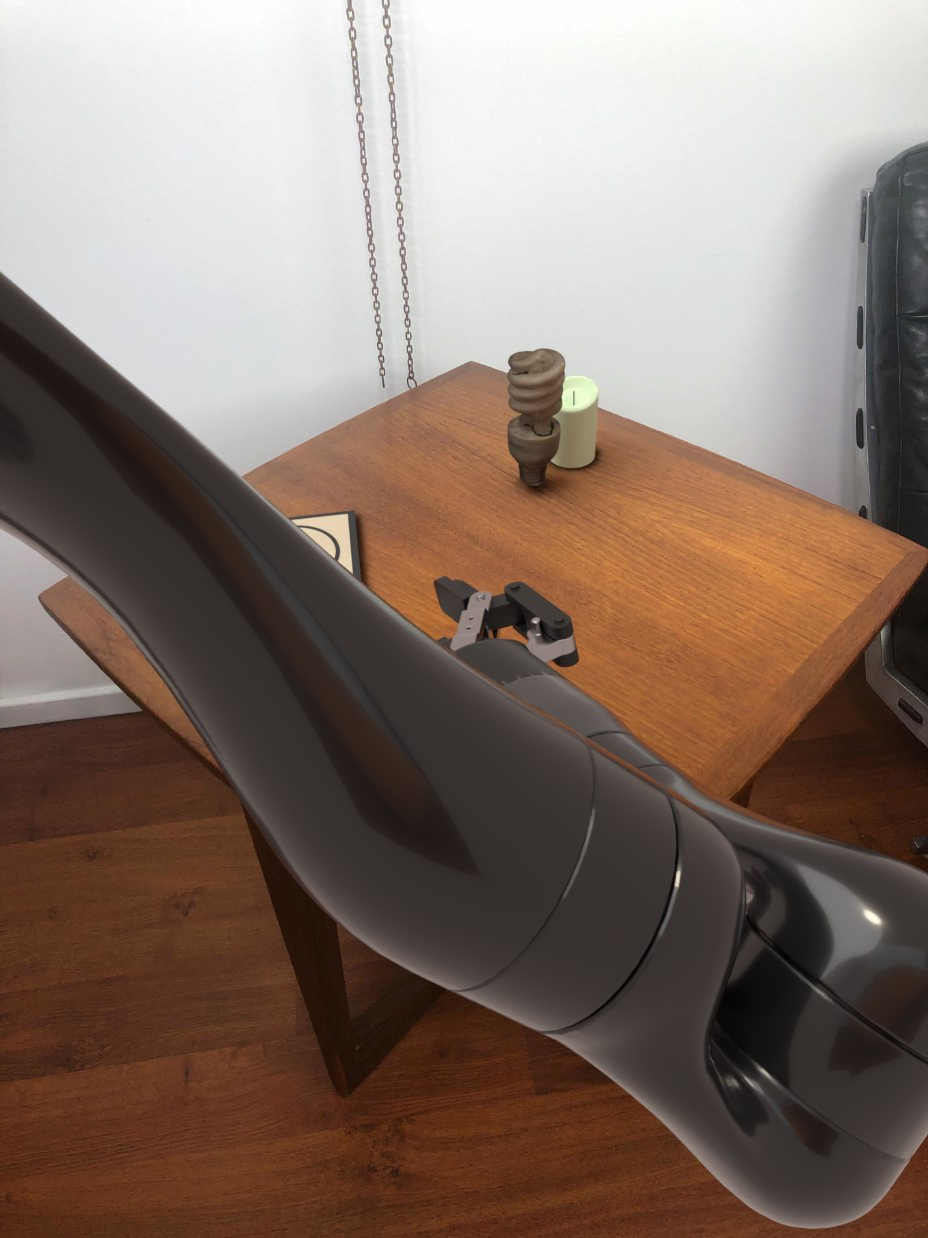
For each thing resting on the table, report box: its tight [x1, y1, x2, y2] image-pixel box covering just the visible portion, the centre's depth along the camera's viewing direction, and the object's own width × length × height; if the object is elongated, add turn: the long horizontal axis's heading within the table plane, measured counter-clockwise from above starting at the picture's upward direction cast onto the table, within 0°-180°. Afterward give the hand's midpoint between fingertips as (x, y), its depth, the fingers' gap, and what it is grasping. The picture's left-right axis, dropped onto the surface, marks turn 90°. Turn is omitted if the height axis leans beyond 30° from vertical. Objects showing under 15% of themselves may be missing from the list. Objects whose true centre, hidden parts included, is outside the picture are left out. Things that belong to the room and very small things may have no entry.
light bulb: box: [506, 347, 566, 488], centre depth 94 cm, size 6×6×15 cm
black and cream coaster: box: [287, 509, 363, 582], centre depth 90 cm, size 13×13×1 cm
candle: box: [550, 375, 600, 469], centre depth 100 cm, size 5×5×8 cm
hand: (375, 622), depth 54 cm, fingers open, 8 cm apart
